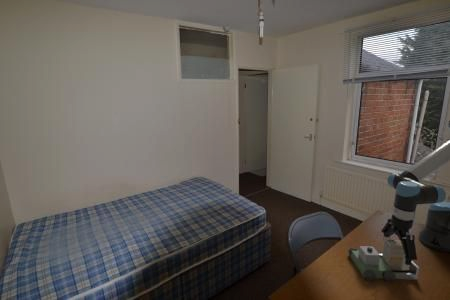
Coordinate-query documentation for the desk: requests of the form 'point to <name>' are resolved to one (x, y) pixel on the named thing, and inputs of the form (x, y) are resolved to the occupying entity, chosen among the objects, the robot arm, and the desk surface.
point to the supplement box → (393, 254)
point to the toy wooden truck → (370, 263)
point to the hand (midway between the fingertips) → (394, 258)
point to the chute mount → (407, 272)
